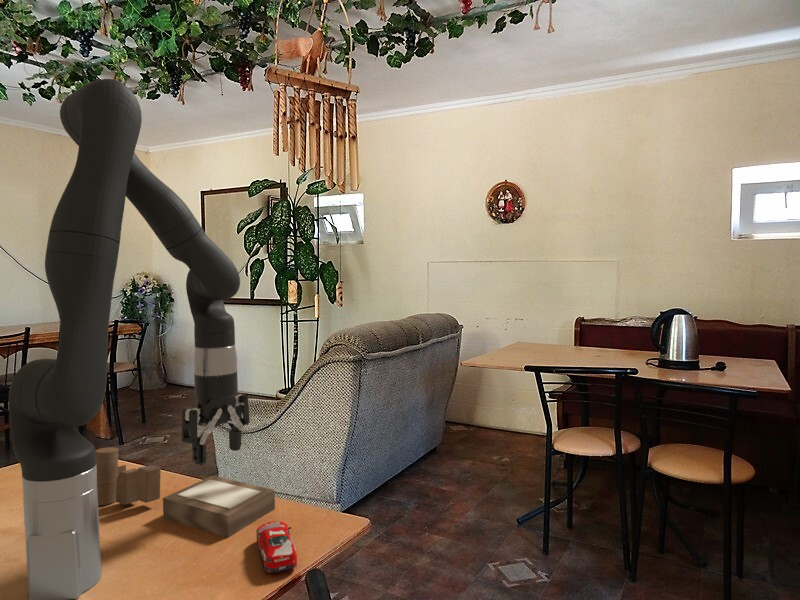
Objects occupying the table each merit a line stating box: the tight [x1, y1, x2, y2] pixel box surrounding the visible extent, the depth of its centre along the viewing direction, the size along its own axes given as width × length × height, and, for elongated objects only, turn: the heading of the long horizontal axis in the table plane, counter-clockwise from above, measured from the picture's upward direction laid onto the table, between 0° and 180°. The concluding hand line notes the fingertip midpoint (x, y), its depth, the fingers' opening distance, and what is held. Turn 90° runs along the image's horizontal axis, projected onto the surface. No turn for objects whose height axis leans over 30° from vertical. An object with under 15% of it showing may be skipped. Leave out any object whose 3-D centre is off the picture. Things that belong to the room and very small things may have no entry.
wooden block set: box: [95, 446, 162, 506], centre depth 110 cm, size 18×9×10 cm, turn 57°
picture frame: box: [162, 475, 276, 538], centre depth 103 cm, size 16×12×4 cm
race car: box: [255, 520, 298, 574], centre depth 88 cm, size 13×5×4 cm, turn 19°
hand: (218, 456), depth 103 cm, fingers open, 8 cm apart
